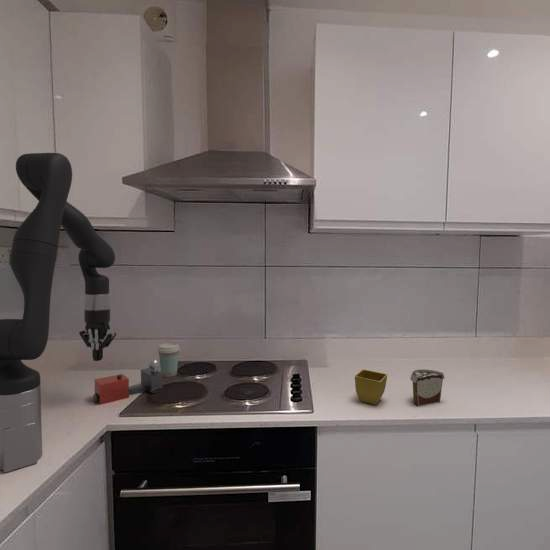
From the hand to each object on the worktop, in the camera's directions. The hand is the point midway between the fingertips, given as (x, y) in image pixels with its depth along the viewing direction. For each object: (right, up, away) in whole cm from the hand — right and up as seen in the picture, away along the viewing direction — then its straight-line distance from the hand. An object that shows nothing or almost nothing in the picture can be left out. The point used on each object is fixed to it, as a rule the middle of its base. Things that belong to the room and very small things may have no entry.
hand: (97, 360), depth 117 cm
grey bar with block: (+7, -13, +7) cm, 17 cm away
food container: (+108, -15, +4) cm, 109 cm away
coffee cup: (+15, -12, +27) cm, 33 cm away
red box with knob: (+3, -14, +3) cm, 14 cm away
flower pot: (+90, -15, +4) cm, 91 cm away
